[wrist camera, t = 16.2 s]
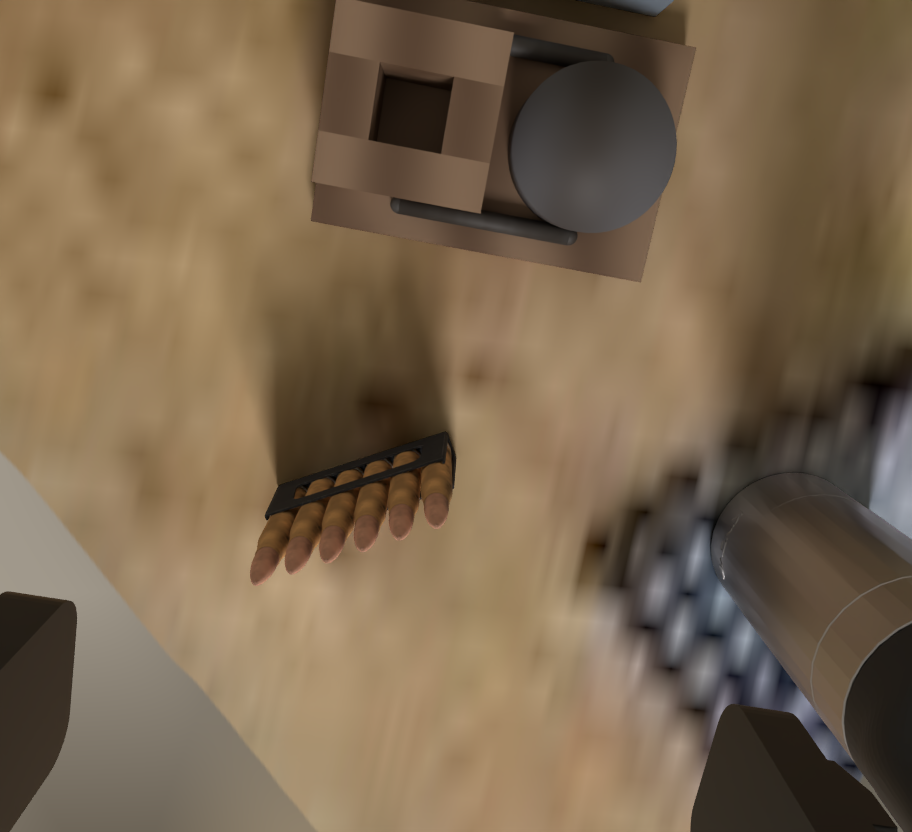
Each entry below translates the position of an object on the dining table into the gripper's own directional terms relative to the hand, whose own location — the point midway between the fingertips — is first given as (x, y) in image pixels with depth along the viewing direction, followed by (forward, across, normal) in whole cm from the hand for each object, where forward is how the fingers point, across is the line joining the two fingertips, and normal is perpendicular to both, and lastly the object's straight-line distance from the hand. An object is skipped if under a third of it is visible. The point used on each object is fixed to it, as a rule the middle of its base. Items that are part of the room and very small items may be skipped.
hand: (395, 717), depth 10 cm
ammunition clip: (+38, +2, +10) cm, 40 cm away
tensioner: (+38, -2, -10) cm, 39 cm away
